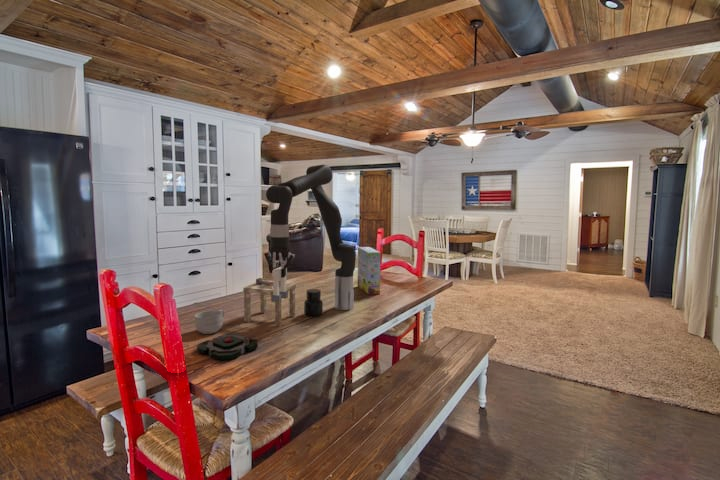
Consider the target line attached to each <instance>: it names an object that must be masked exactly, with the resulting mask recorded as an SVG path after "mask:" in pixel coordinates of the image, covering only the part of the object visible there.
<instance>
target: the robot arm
mask: <svg viewBox="0 0 720 480" xmlns="http://www.w3.org/2000/svg"><path fill="white" fill-rule="evenodd" d="M332 170H333V169H332V168H331V166H329V165H328V164H319V165H313V166H309V167H307V169H306V172H305V174H303V175H300V176H297V177H294V178H292V179H290V180H287V181H284V182H281V183H277V184H273V185H271V186H269V187H268V188H267V190H266V193H265V197H266V199H267V201H268V202H270V203H271V204H279V205H278V207H277V208H276V209H273V210H271V211H270V229H269V235H270V236H269V246H270V248H269V251H267V252H265V253H263V254H264V257H265V258H264V259H265V260H266V262H267V264H268V266H269V267H272V270H274V269H276V268H279V263H280V267H281V268H282V269H281V278H284V277H285V276H286V277H287V275H286V268H287V269H288V268H289V267H291V266H292V264H293V261H294V260H295V258H296V254H295V253H292V252H291V250H290V249H289V247H290V226H289V213H290V210H291V205H292V201H293V198H296V196H299V195H301V194H303V193H305V192H306V191H309V190H310V189H311V192H312V195H313V196H314V199H315V201H316V204H317V206H318V210H319V213H320V217H321V220H322V223H323V224H324V228H325V230H326V234H327V237H328V240H329V245H330V250H331V253H332V257H333V259H334V260H336V261H337V262H341V264H340V267H339V268H337V269H335V271H334V272H335V273H334V277H335V278H334V309H335V310H338V311H351V310H352V309H353V308H354V306H355V305H354V304H355V303H354V302H355V299H354V298H355V289H354V272H355V270H356V259H357V252H356V251H357V250H356V249H355V247H354V246H353V245H350V244H344V242H343V239H342V236H341V235H342V234H341V229H342V224H343V221H342V220H343V219H342V215H341V212H340V208H339V207H338V205H337V204H336V202H334V200H333V199H332V198H330V197H329V196H328V195H327V193H326V192H325V190H324V188H323V185H327V184H328V185H329V184H330V183H331V181H332V180H333V172H332ZM287 258H288V259H287Z"/></svg>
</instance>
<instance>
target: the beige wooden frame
mask: <svg viewBox="0 0 720 480" xmlns="http://www.w3.org/2000/svg"><path fill="white" fill-rule="evenodd" d="M267 287H273V280H268V279H267V280H266V279H265V280H264V279H263V278H262V277H258V278H256V279H255V282H254V283H251V284H249V285H246V286H244V287H242V288H243V289H242V291H243V300H244V301H243V307H244V308H243V309H244V310H243V312H244V314H243V317H244V319H243V320H244V322H245V323H250V322H251V321H252V319H251V318H252V316H251V314H252V313H251V312H252V311H251V309H252V306H251V304H252V303H251V299H252V298H251V294H259V295H260V297H259V298H260V303H259V305H260V307H259V308H260V310H259V311H260V314H266V313H267V296H271V295H272V294H273V288H267ZM296 287H297V283H294V282H286V291H288V298H289V302H288V303H289V308H288V312H289V315H288V316H289V317H290V318H294V317H296ZM279 291H280V280H279ZM274 326H275V327H281V326H282V301H281V302H279V303H278V302H274Z"/></svg>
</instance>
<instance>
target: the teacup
mask: <svg viewBox="0 0 720 480" xmlns="http://www.w3.org/2000/svg"><path fill="white" fill-rule="evenodd" d="M224 316H225V311H224V309H216V310H215V309H211V310H210V309H209V310H204V311H201V312H197V313H196V314H194V319H195V322H194V323H195V326H196V330H197V331H198V332H199V333H200V334H202V335H203V334H204V335H210V334H215V333H217V332H218V331H220V330H221V329H222V327H223V318H224Z"/></svg>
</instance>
